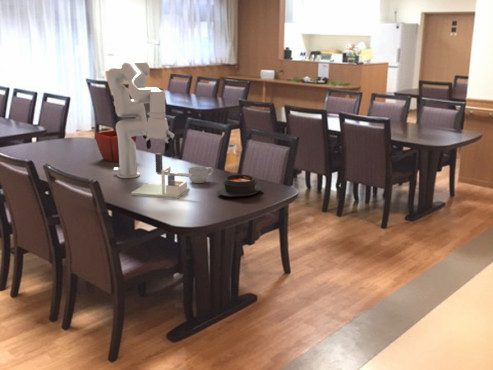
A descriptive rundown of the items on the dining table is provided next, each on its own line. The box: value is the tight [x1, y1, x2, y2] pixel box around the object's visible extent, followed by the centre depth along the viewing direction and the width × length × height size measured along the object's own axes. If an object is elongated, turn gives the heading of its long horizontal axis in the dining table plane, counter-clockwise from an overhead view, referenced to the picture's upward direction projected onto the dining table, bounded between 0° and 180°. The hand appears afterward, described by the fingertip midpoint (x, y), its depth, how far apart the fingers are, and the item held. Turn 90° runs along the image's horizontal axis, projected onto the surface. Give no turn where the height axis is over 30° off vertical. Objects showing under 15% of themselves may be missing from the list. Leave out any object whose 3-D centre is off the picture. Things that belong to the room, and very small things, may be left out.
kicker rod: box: [154, 152, 192, 186], centre depth 284 cm, size 18×5×18 cm, turn 76°
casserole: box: [216, 174, 263, 198], centre depth 286 cm, size 25×19×8 cm
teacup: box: [187, 165, 214, 184], centre depth 307 cm, size 14×11×8 cm
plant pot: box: [94, 129, 137, 163], centre depth 355 cm, size 19×19×17 cm
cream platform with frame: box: [131, 166, 190, 200], centre depth 286 cm, size 24×18×13 cm
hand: (158, 149), depth 283 cm, fingers open, 9 cm apart
